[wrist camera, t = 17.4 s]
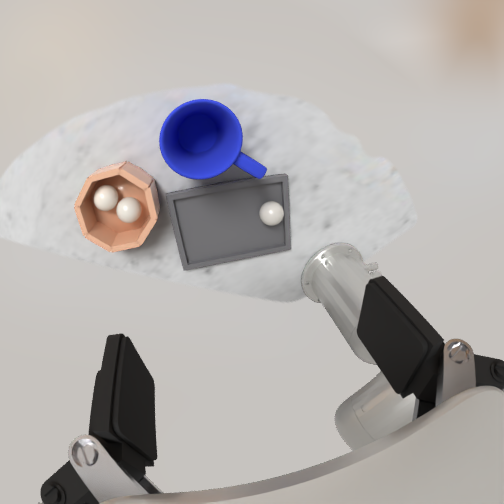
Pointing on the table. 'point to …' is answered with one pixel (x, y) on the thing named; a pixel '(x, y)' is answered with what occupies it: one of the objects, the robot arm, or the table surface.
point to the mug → (204, 141)
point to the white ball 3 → (271, 213)
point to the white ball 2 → (128, 210)
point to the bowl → (107, 222)
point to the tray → (228, 220)
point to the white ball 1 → (105, 197)
